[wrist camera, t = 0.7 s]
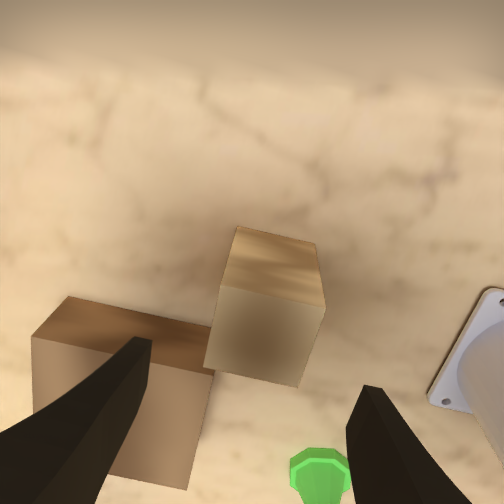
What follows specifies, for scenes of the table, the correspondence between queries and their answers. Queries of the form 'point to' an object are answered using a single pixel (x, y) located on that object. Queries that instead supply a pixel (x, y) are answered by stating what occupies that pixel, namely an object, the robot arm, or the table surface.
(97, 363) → the walnut block
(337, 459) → the game piece
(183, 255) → the table surface
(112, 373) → the robot arm
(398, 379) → the table surface
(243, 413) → the table surface
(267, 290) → the maple block
